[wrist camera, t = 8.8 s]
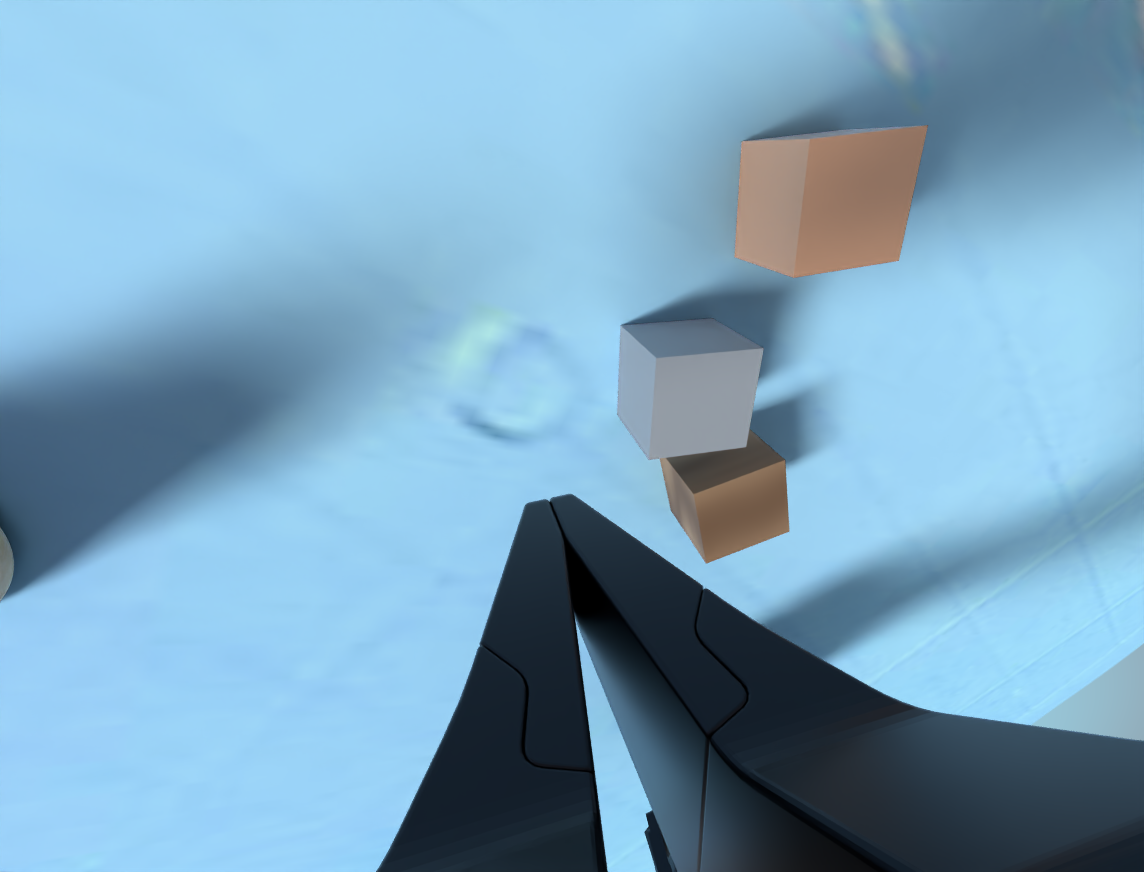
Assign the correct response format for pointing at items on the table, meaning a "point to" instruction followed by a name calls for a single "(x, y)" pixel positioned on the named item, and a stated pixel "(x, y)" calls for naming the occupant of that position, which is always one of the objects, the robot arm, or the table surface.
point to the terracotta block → (826, 198)
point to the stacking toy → (5, 564)
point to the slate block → (686, 386)
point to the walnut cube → (728, 497)
